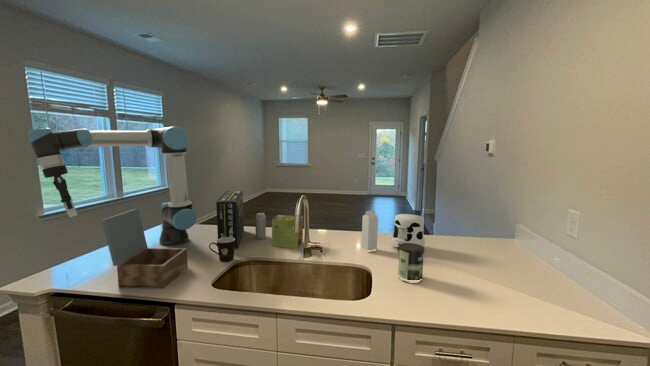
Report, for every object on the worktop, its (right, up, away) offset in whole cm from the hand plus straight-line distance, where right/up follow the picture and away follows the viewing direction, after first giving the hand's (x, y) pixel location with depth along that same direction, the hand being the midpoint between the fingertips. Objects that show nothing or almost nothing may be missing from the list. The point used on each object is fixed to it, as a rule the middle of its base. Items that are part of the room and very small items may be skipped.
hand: (72, 215), depth 128 cm
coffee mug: (+58, -24, +20) cm, 66 cm away
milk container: (+153, -23, +39) cm, 160 cm away
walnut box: (+36, -26, 0) cm, 44 cm away
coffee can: (+144, -28, +2) cm, 146 cm away
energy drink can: (+68, -20, +54) cm, 90 cm away
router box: (+52, -20, +51) cm, 75 cm away
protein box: (+86, -22, +44) cm, 99 cm away
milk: (+131, -23, +35) cm, 138 cm away
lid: (+25, -8, -3) cm, 27 cm away
